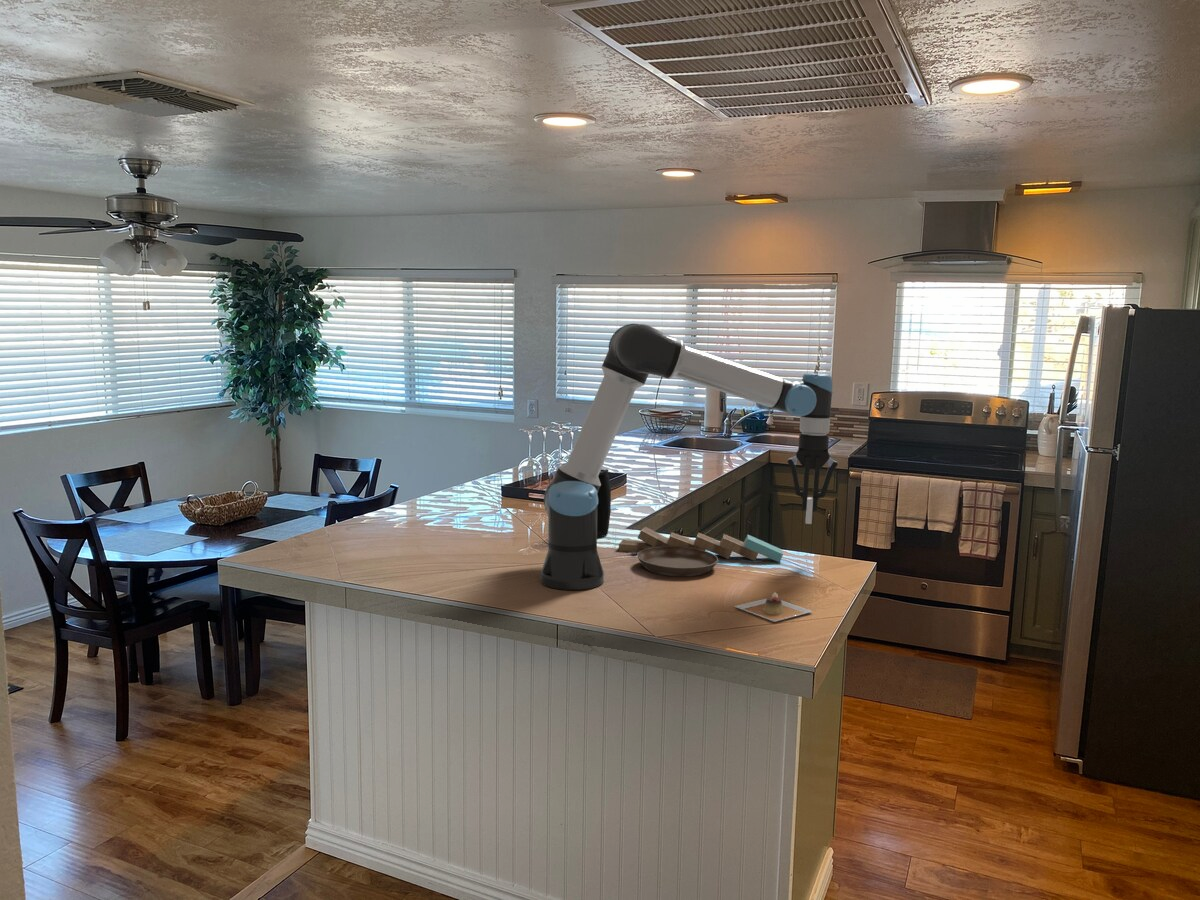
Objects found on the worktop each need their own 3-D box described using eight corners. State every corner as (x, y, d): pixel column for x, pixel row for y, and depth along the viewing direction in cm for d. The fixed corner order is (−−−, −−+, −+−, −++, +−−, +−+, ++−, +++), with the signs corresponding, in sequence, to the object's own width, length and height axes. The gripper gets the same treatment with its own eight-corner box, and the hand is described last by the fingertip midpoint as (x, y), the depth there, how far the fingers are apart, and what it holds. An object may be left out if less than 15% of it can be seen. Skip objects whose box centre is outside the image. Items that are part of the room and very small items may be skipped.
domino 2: (673, 547, 238) (640, 530, 240) (670, 555, 239) (637, 538, 241) (677, 543, 243) (645, 526, 245) (674, 550, 243) (641, 534, 245)
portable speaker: (615, 535, 261) (617, 469, 258) (592, 540, 254) (593, 473, 251) (595, 530, 267) (596, 465, 264) (572, 534, 260) (573, 469, 257)
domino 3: (705, 549, 236) (670, 536, 237) (702, 557, 236) (667, 544, 237) (705, 544, 241) (671, 532, 242) (702, 552, 241) (668, 540, 242)
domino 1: (654, 546, 240) (618, 543, 242) (654, 555, 240) (618, 552, 243) (658, 542, 244) (623, 539, 247) (658, 550, 245) (623, 548, 247)
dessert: (774, 626, 185) (775, 604, 184) (733, 610, 194) (734, 589, 194) (813, 616, 191) (814, 594, 191) (772, 601, 201) (773, 581, 200)
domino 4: (732, 551, 235) (697, 536, 236) (728, 559, 235) (693, 544, 236) (732, 546, 240) (698, 532, 241) (729, 554, 240) (695, 540, 241)
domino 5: (758, 553, 233) (723, 538, 234) (754, 561, 234) (719, 546, 235) (758, 548, 238) (723, 533, 239) (754, 556, 239) (720, 541, 240)
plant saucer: (723, 561, 234) (723, 549, 233) (710, 583, 214) (710, 569, 213) (647, 555, 239) (647, 543, 239) (627, 575, 220) (628, 562, 219)
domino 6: (783, 554, 232) (747, 538, 233) (779, 562, 233) (744, 546, 233) (782, 549, 237) (747, 534, 238) (778, 557, 238) (743, 542, 238)
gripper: (839, 433, 231) (833, 521, 234) (788, 430, 234) (783, 518, 237) (841, 436, 224) (834, 527, 227) (788, 433, 226) (783, 523, 230)
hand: (808, 522), depth 232 cm, fingers closed
